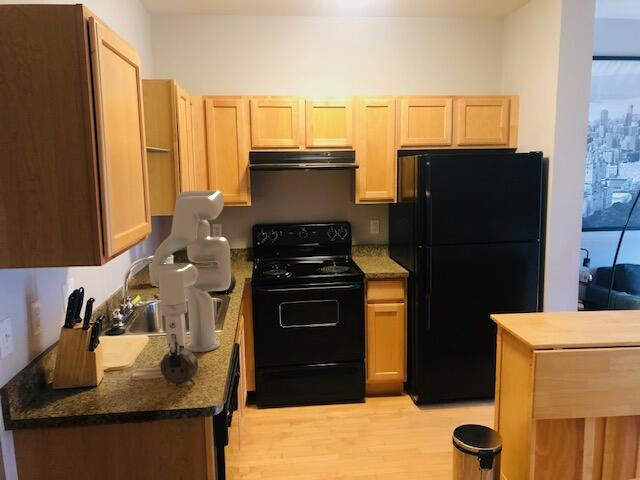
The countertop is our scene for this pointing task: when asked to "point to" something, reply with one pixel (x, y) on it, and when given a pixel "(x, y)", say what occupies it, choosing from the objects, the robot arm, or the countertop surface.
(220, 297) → the countertop surface
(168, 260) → the utensil holder
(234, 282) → the squash
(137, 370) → the track
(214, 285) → the robot arm
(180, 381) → the alarm clock
